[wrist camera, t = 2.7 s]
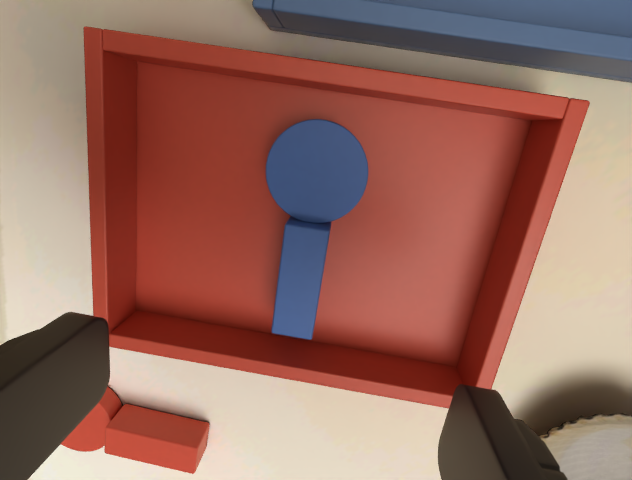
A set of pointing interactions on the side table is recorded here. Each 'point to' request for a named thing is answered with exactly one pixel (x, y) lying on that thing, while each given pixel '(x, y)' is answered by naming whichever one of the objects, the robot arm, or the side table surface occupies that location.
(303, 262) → the blue spoon
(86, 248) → the side table surface
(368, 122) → the red tray
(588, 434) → the seashell
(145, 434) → the red spoon
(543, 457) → the robot arm
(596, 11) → the blue tray
